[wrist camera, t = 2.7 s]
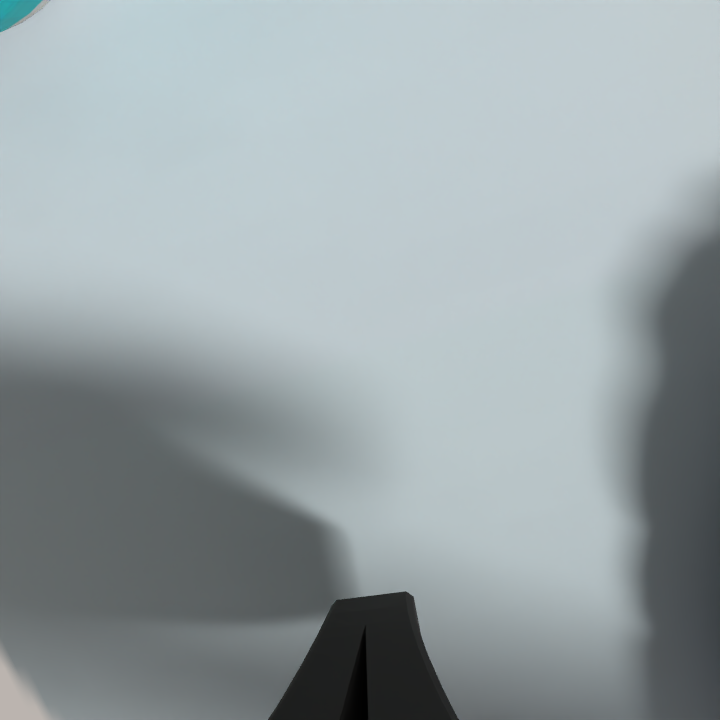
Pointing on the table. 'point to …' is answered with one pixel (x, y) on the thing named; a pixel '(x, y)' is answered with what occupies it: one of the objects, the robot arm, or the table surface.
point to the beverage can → (18, 11)
